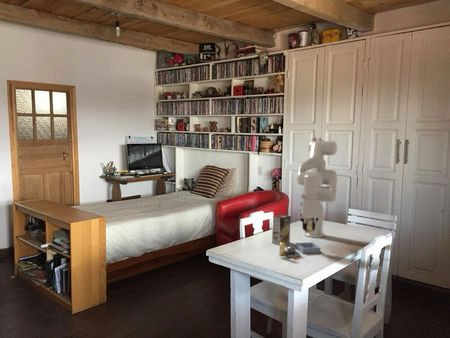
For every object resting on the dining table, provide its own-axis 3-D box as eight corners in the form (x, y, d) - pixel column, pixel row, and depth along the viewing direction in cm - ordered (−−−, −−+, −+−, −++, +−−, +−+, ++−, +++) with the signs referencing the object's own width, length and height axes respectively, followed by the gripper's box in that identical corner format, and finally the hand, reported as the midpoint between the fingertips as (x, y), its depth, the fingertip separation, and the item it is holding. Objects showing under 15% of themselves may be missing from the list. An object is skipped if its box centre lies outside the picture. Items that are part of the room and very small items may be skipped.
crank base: (280, 252, 210) (280, 250, 209) (295, 252, 211) (296, 250, 211) (288, 260, 198) (288, 258, 198) (304, 259, 200) (304, 257, 199)
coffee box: (280, 245, 222) (281, 218, 221) (271, 243, 227) (272, 216, 225) (289, 242, 229) (291, 215, 227) (281, 240, 233) (282, 214, 232)
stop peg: (303, 230, 214) (304, 218, 214) (310, 230, 215) (311, 218, 214) (306, 232, 210) (307, 219, 210) (313, 232, 211) (314, 219, 211)
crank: (290, 251, 209) (291, 238, 208) (297, 253, 206) (297, 240, 205) (277, 255, 202) (277, 242, 201) (283, 257, 199) (284, 244, 198)
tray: (295, 248, 218) (296, 243, 218) (312, 247, 220) (312, 242, 220) (302, 253, 208) (303, 248, 208) (320, 253, 210) (320, 247, 210)
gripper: (298, 198, 206) (296, 232, 207) (327, 198, 209) (325, 231, 211) (293, 196, 213) (291, 228, 215) (321, 195, 216) (319, 227, 218)
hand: (308, 229), depth 213 cm, fingers closed on stop peg, 4 cm apart
